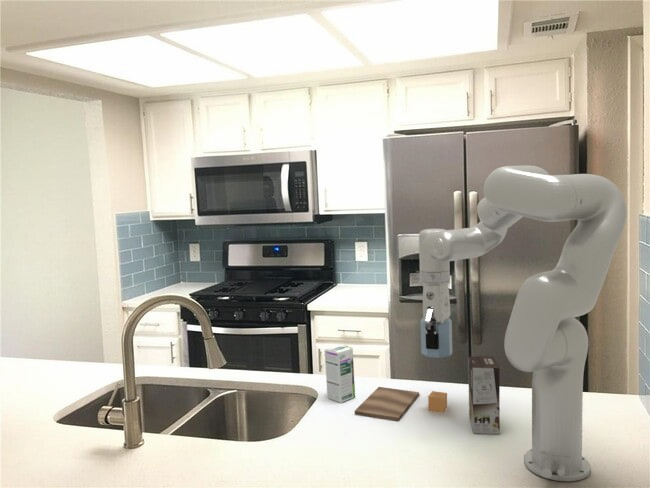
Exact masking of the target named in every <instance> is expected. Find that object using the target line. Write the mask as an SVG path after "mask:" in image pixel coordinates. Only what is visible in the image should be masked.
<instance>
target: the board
mask: <svg viewBox="0 0 650 488" xmlns="http://www.w3.org/2000/svg"><path fill="white" fill-rule="evenodd" d="M419 396H420V392H419V391H414V390H405V389H399V388H391V387H384V386H383V387H382V386H378V387H377V388H376V389H375V390H374V391H373V392H372V393H371V394H370V395H368V397H367V398H366V399H364V401H363V402H362V403H360V405H359V406H358V407H357V408H356V409H354V415H355V414H356V416H360V417H361V416H363V417H369V418H374V419H382V420H388V421H395V422H400V421H401V419H403V416H404V415H406V413H407V412H408V410H409V409H410V408H411V407H412V406H413V404H414V403H415V402H416V400H417V399H418V398H419Z"/></svg>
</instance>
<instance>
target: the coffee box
mask: <svg viewBox="0 0 650 488" xmlns="http://www.w3.org/2000/svg"><path fill="white" fill-rule="evenodd" d="M467 358H468V359H467V360H468V361H467V367H468V372H467V373H468V412H469V413H468V414H469V415H468V416H469V422H470V426H471V430H472V433H473V434H483V435H484V434H488V435H491V434H492V435H499V434H501V432H500V431H501V430H500V427H501V426H500V425H501V424H500V422H501V421H500V417H501V414H500V413H501V412H500V411H501V409H500V399H501V398H500V382H501V381H500V374H501V373H500V372H501V371H500V370H501V369H500V366H499V364H498V362H497V360H496V359H495V356H493V355H492V356H491V355H490V356H489V355H483V356H468V357H467Z"/></svg>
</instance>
